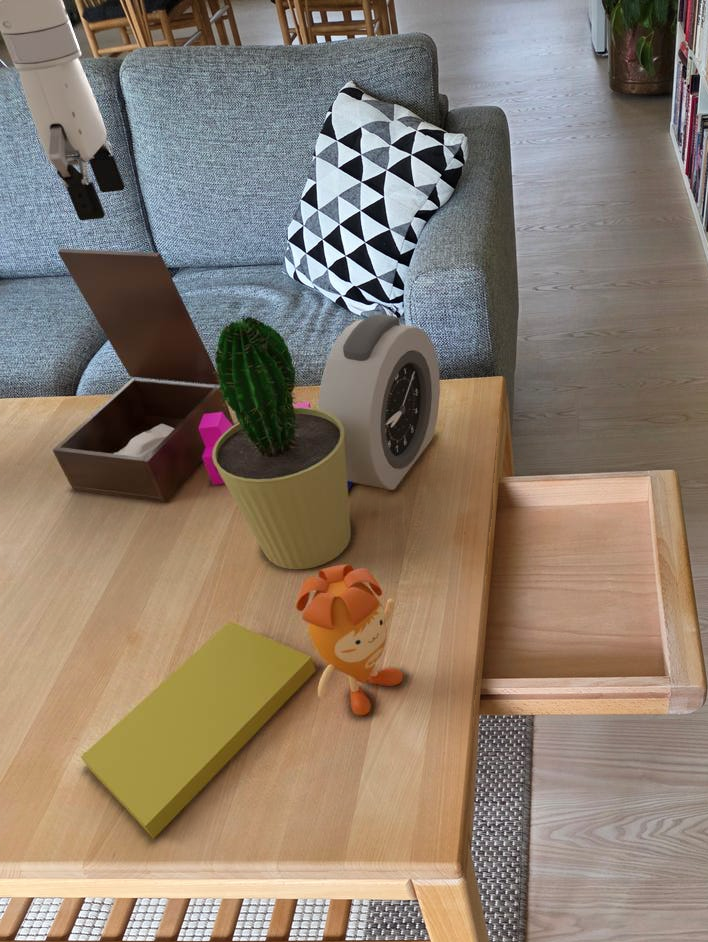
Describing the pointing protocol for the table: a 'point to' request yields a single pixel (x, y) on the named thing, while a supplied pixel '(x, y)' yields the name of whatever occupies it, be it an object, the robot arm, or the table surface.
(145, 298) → the lid
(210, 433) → the toy block
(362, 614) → the toy figure
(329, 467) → the potted cactus
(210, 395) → the chest
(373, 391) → the alarm clock
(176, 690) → the flat olive board
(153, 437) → the toy car
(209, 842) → the table surface
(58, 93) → the robot arm
